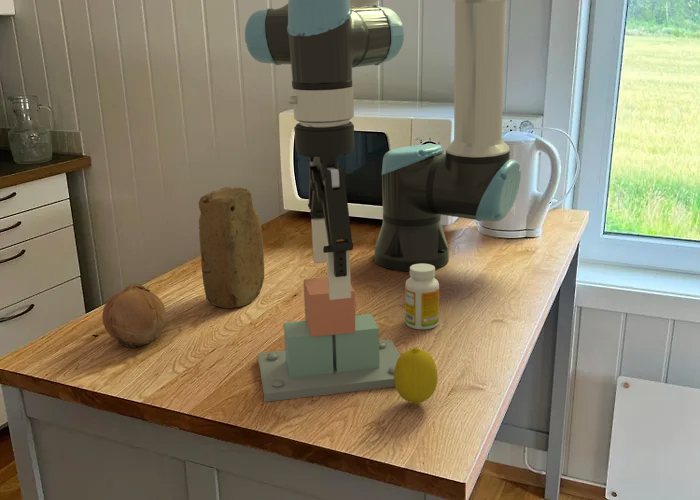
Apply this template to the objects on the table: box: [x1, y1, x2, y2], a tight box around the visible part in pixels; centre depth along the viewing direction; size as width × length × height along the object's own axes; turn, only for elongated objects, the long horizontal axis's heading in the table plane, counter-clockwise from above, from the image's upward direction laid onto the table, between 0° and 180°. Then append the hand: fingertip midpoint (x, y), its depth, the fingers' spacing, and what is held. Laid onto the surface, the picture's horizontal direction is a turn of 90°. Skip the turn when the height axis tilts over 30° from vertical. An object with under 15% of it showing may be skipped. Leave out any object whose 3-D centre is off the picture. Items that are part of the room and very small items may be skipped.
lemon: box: [394, 346, 438, 406], centre depth 90 cm, size 6×6×8 cm
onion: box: [101, 283, 167, 349], centre depth 110 cm, size 10×9×10 cm
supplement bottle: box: [404, 263, 440, 330], centre depth 114 cm, size 5×5×10 cm
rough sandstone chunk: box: [198, 186, 265, 309], centre depth 124 cm, size 11×8×20 cm
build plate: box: [257, 313, 401, 403], centre depth 99 cm, size 20×12×7 cm, turn 101°
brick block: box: [303, 276, 356, 337], centre depth 97 cm, size 6×6×6 cm
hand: (331, 279), depth 96 cm, fingers open, 13 cm apart
